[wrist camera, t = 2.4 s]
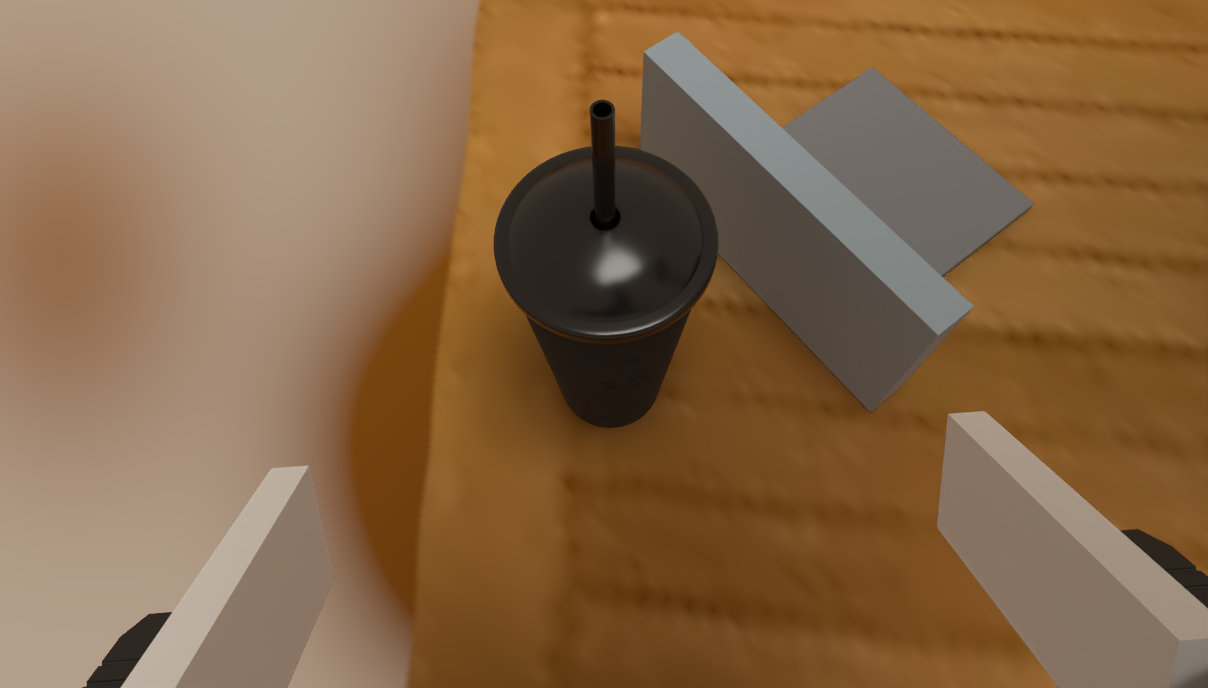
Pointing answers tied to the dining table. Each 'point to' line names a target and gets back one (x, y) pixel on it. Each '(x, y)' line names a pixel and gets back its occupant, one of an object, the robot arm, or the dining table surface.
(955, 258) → the rubber mat
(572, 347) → the drinking cup
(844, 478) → the dining table surface
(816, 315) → the low wall
